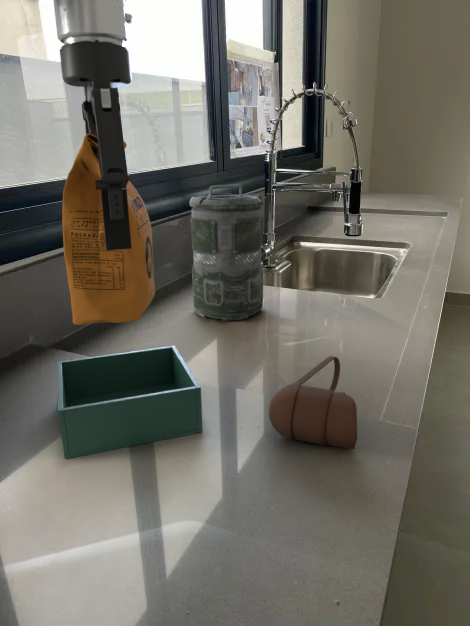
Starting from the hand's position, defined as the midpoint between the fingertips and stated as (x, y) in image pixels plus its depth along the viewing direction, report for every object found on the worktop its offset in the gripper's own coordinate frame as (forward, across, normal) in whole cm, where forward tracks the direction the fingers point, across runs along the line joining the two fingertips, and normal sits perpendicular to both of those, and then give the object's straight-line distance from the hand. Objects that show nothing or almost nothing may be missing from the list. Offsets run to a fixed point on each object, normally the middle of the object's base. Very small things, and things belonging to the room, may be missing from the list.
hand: (112, 240), depth 61 cm
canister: (+25, +40, -28) cm, 55 cm away
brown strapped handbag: (+25, -10, -25) cm, 37 cm away
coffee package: (+10, 0, 0) cm, 10 cm away
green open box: (+25, 0, 0) cm, 25 cm away
